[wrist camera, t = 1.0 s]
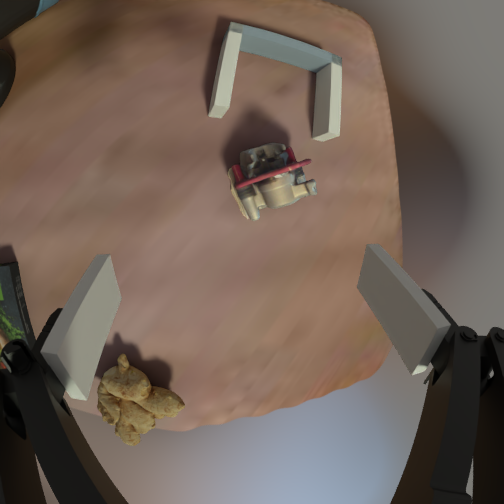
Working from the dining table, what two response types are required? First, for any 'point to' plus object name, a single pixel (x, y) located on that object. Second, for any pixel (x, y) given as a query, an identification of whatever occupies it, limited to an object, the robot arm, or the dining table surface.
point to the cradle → (288, 52)
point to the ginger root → (133, 401)
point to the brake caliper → (268, 179)
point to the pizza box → (13, 309)
